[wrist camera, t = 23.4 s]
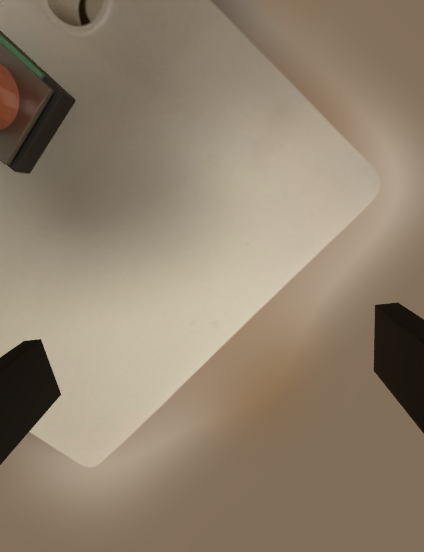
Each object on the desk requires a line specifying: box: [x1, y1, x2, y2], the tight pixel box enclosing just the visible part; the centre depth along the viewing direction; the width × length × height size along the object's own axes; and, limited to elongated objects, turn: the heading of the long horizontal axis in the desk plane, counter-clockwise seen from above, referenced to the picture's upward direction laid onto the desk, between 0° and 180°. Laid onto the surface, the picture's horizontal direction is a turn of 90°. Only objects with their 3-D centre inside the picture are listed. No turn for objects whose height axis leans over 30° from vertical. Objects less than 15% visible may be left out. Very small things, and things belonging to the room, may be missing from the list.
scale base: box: [0, 31, 75, 173], centre depth 31 cm, size 11×11×3 cm
